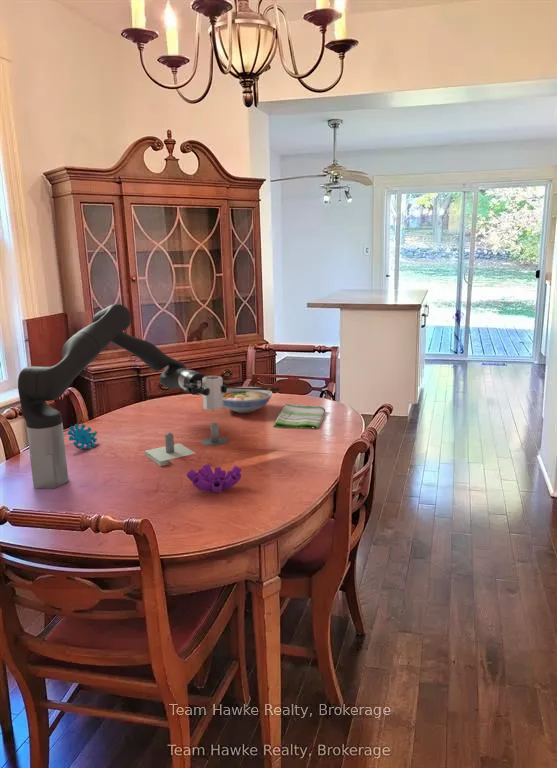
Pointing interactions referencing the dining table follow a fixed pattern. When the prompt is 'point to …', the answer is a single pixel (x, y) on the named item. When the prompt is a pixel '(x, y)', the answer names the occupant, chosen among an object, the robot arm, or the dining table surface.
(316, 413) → the dish towel
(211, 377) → the sleeve
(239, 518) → the dining table surface
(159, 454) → the plate with upright peg
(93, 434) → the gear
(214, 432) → the stand
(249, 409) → the ramen bowl
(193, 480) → the pipe connector assembly
